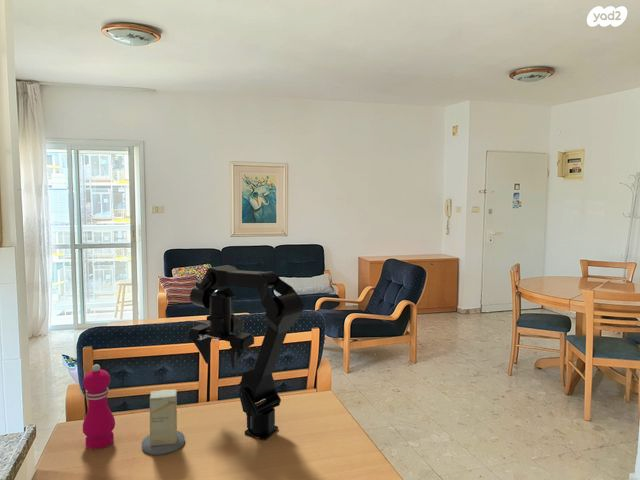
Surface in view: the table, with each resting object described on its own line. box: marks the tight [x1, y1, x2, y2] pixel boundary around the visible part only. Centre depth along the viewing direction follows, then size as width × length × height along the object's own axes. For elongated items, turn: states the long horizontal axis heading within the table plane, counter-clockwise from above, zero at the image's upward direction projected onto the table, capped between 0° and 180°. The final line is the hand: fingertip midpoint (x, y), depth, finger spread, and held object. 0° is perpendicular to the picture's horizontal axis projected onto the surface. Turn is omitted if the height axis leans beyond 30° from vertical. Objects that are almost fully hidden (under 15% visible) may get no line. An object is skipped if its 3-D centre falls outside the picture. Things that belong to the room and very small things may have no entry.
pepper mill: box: [82, 363, 116, 450], centre depth 116 cm, size 7×7×20 cm
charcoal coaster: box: [141, 430, 186, 456], centre depth 117 cm, size 10×10×1 cm
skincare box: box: [149, 388, 178, 446], centre depth 116 cm, size 6×4×12 cm
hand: (221, 366), depth 132 cm, fingers open, 9 cm apart
